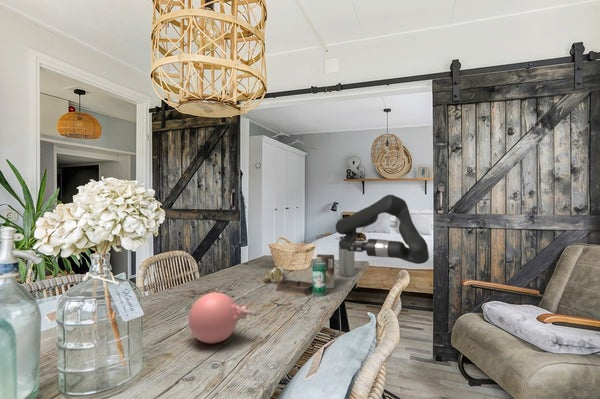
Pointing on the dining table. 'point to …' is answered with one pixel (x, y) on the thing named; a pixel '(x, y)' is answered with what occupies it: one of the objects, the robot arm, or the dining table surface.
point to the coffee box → (328, 268)
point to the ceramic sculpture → (275, 275)
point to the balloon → (215, 317)
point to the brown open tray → (295, 287)
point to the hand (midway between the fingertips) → (343, 245)
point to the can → (319, 279)
